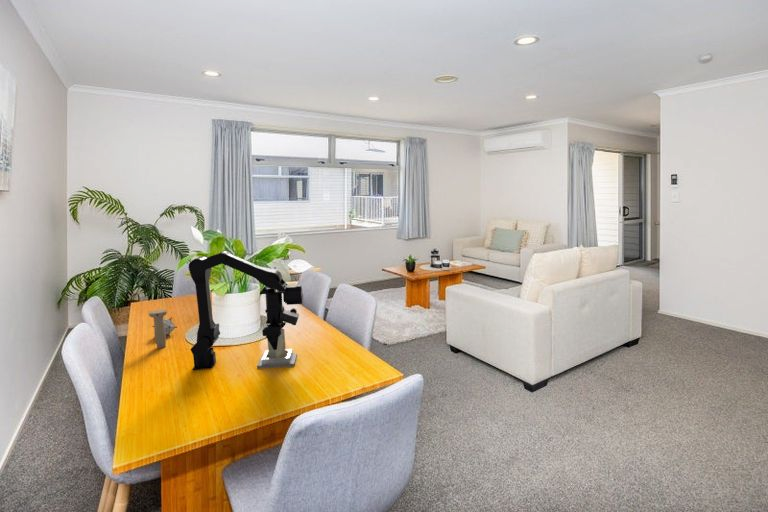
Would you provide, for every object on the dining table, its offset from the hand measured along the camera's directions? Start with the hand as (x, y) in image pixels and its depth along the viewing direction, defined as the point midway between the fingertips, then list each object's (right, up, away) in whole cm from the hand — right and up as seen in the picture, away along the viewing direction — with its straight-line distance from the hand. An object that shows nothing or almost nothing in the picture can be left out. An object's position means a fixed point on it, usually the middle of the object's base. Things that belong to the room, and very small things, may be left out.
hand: (276, 346), depth 155 cm
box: (0, -5, +1) cm, 5 cm away
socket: (0, -6, +1) cm, 6 cm away
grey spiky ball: (-58, -2, +33) cm, 66 cm away
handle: (-52, -4, +18) cm, 55 cm away
